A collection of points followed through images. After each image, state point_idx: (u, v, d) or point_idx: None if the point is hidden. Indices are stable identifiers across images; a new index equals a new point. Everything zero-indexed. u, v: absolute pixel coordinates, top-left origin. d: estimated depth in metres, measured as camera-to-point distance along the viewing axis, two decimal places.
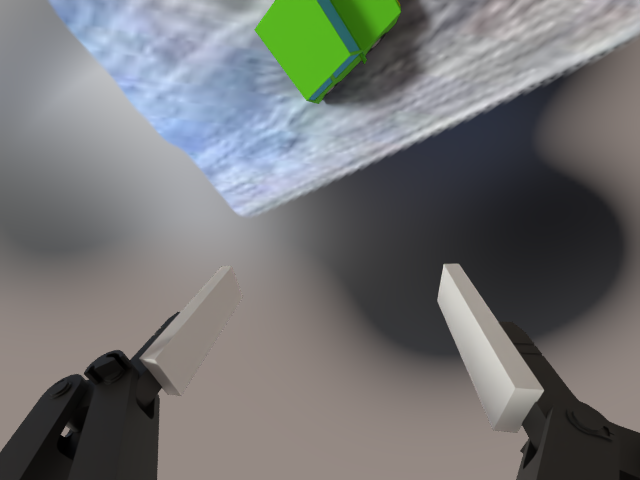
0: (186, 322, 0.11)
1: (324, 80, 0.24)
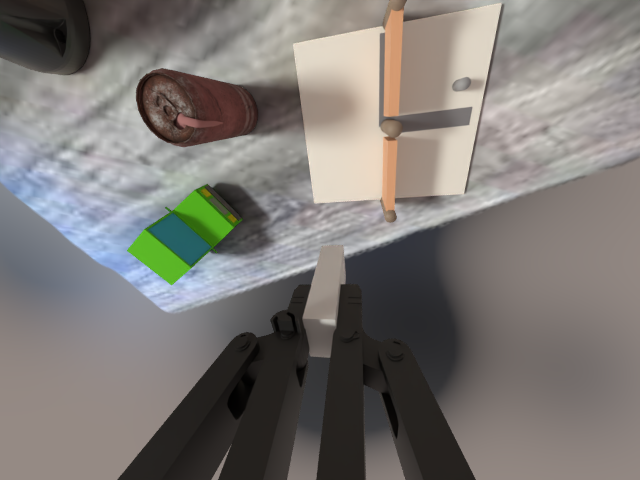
0: (324, 290, 0.12)
1: (179, 277, 0.35)
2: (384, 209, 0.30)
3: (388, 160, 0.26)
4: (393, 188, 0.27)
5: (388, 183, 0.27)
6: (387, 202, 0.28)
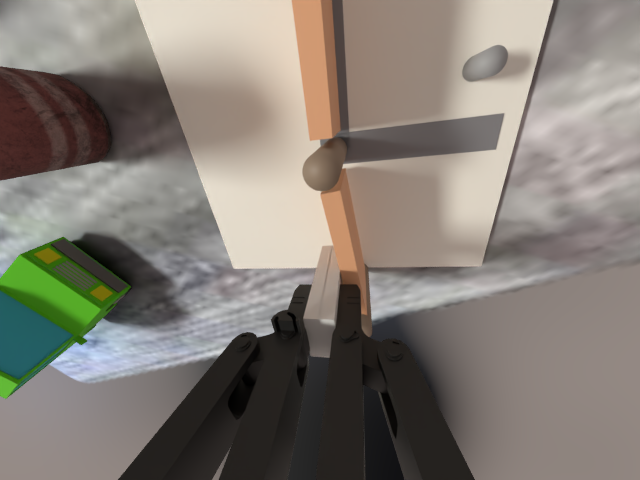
0: (325, 290, 0.12)
1: (9, 392, 0.22)
2: None
3: (331, 231, 0.12)
4: (355, 279, 0.13)
5: (343, 272, 0.13)
6: None
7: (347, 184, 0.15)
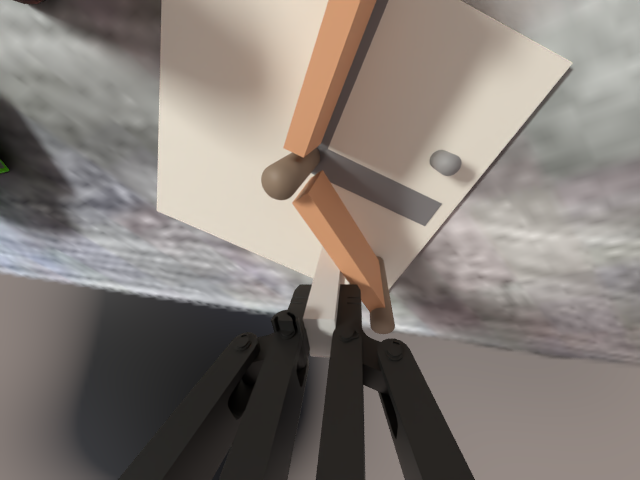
0: (324, 290, 0.12)
1: None
2: None
3: (316, 233, 0.12)
4: (358, 274, 0.13)
5: (343, 270, 0.13)
6: (362, 298, 0.14)
7: (328, 184, 0.15)
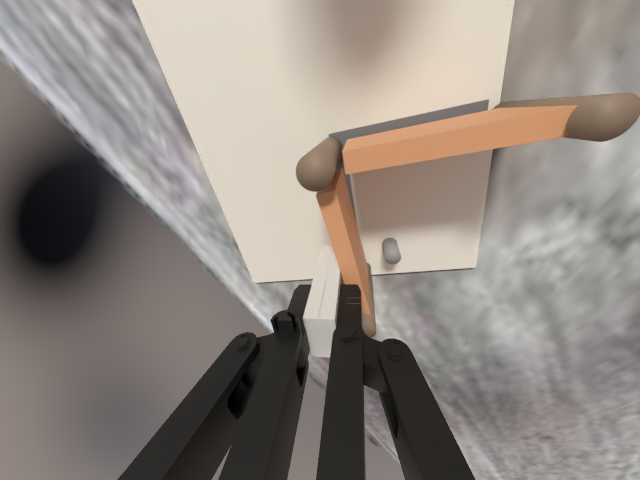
0: (324, 290, 0.12)
1: None
2: None
3: (329, 231, 0.12)
4: (356, 279, 0.13)
5: (343, 271, 0.13)
6: None
7: (344, 183, 0.15)
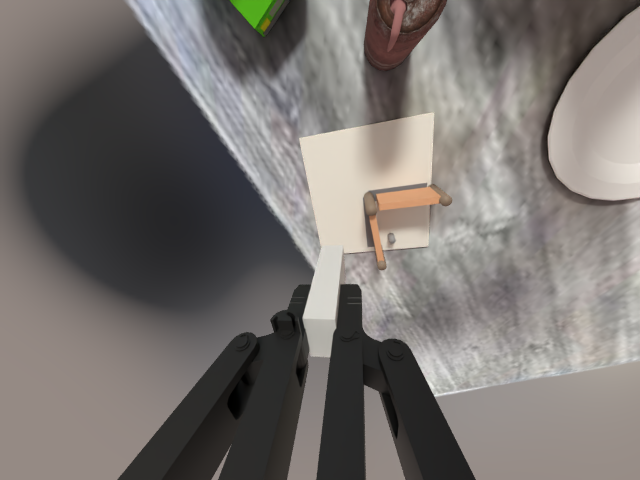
0: (324, 290, 0.12)
1: None
2: (377, 259, 0.39)
3: (372, 228, 0.35)
4: (380, 245, 0.36)
5: (375, 243, 0.36)
6: (377, 255, 0.37)
7: None
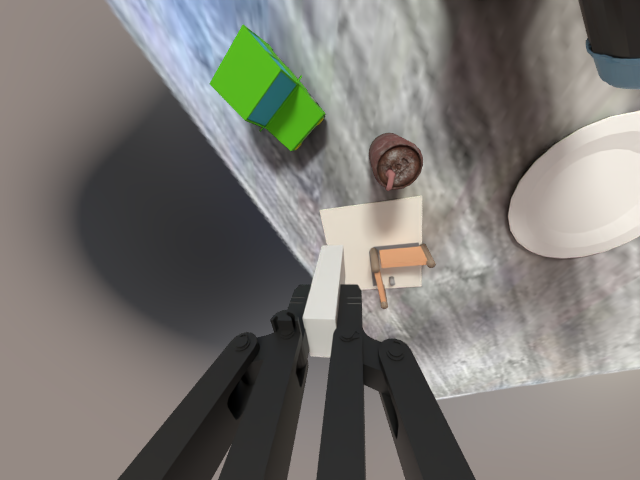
0: (324, 290, 0.12)
1: (226, 100, 0.31)
2: (380, 299, 0.50)
3: (376, 279, 0.46)
4: (382, 291, 0.47)
5: (379, 289, 0.47)
6: (381, 298, 0.48)
7: None
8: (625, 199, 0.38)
